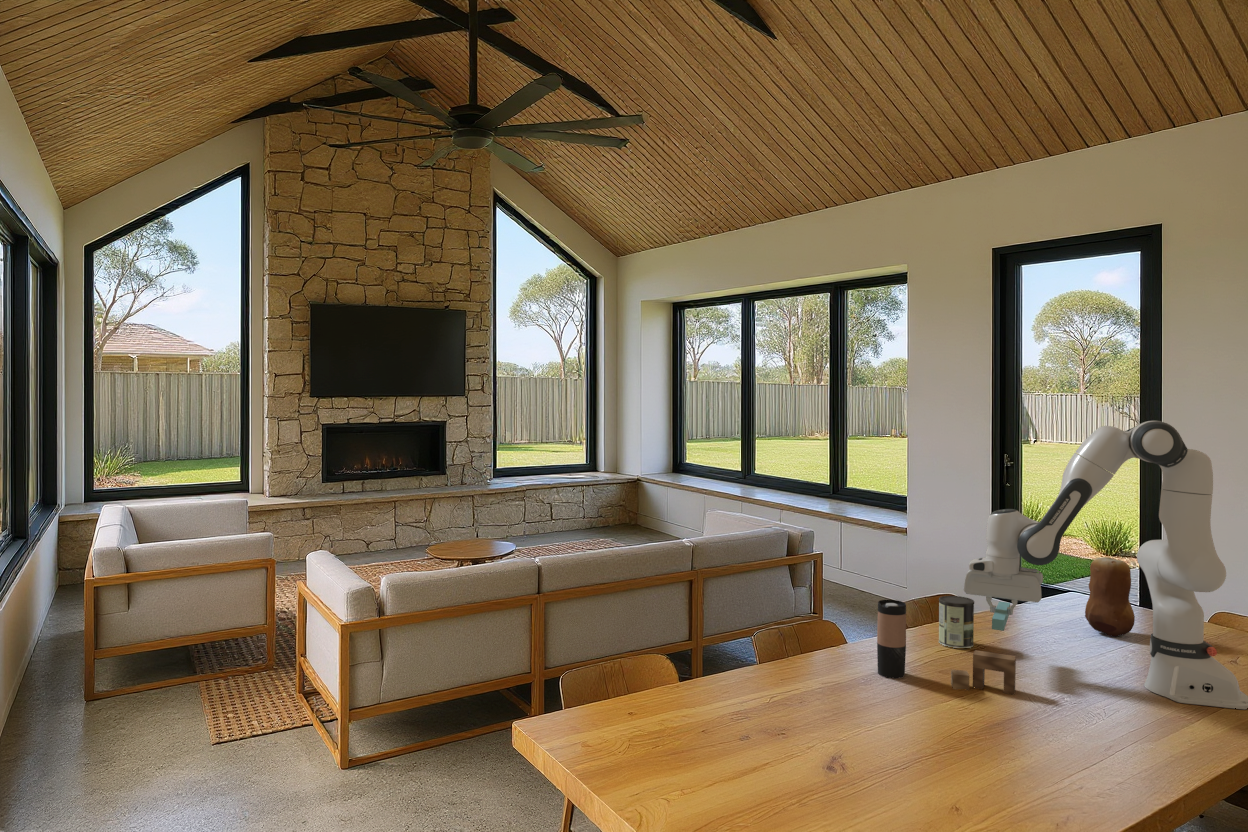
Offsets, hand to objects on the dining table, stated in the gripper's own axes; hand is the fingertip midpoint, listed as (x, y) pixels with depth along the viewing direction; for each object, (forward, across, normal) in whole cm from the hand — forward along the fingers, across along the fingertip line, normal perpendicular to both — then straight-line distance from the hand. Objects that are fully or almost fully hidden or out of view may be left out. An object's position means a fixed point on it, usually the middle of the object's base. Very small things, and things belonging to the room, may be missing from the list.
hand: (1001, 613), depth 232 cm
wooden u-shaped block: (+15, 0, +21) cm, 26 cm away
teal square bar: (+2, 0, 0) cm, 2 cm away
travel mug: (+16, +26, +23) cm, 38 cm away
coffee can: (+15, +14, -15) cm, 26 cm away
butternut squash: (+15, -28, -51) cm, 60 cm away
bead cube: (+15, +8, +24) cm, 30 cm away
